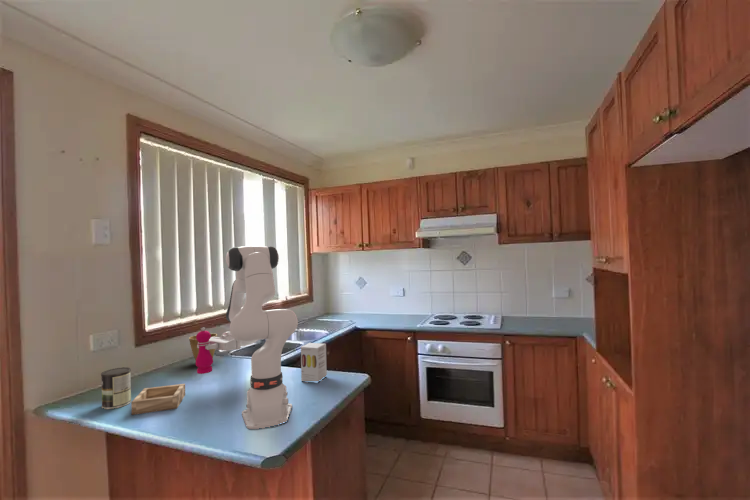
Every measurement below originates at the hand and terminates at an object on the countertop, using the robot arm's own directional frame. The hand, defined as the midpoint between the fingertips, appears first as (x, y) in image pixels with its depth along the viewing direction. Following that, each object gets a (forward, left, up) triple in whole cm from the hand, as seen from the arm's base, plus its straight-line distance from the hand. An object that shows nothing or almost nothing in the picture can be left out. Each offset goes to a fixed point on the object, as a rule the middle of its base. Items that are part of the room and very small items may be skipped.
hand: (202, 347), depth 165 cm
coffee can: (0, +33, -21) cm, 39 cm away
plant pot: (+53, +7, -21) cm, 57 cm away
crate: (-7, +15, -21) cm, 27 cm away
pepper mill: (0, -1, -11) cm, 12 cm away
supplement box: (-1, -50, -21) cm, 54 cm away
